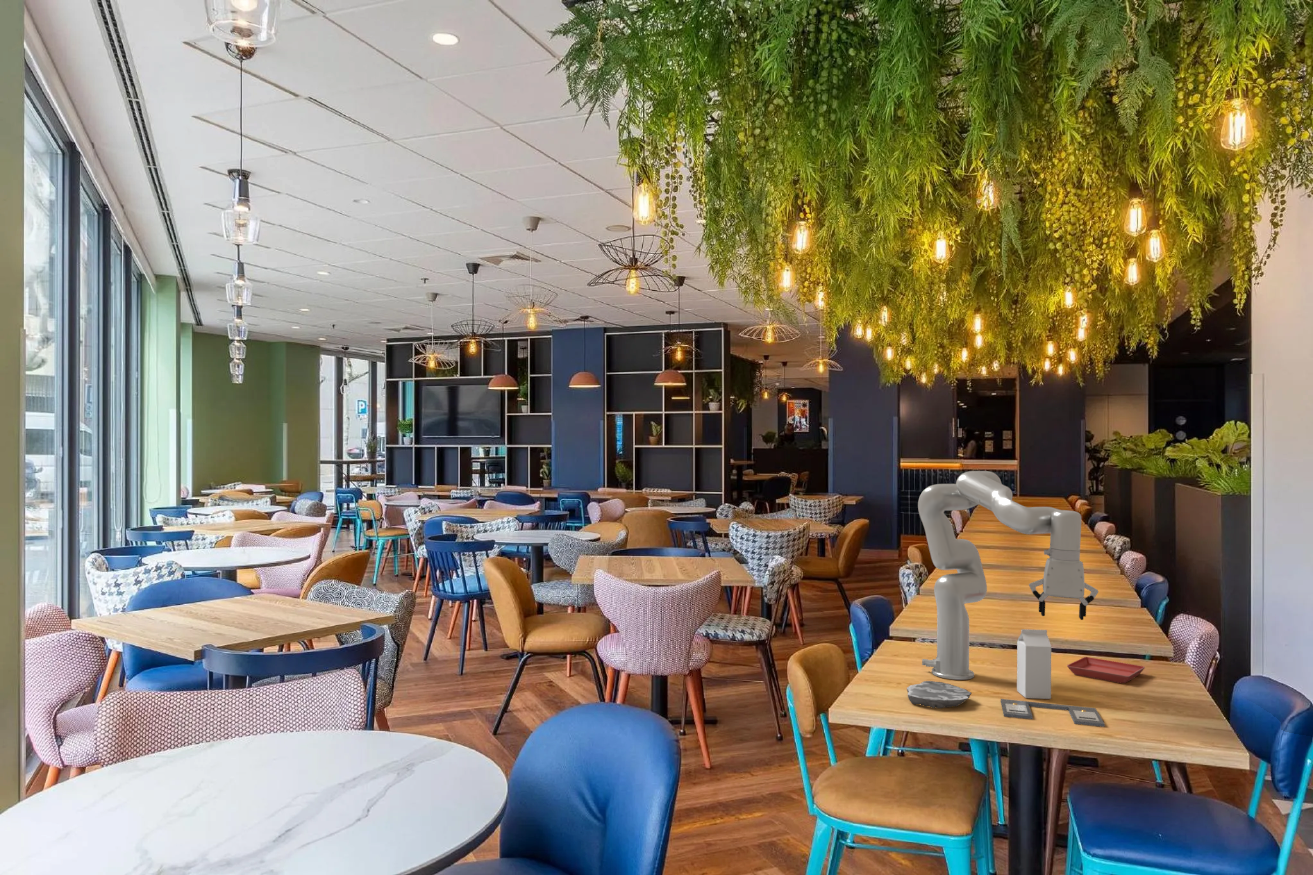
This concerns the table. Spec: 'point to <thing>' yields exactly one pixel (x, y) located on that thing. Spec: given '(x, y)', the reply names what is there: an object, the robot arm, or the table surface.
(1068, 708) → the label panel
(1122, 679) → the plant saucer
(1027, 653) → the milk carton
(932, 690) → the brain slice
